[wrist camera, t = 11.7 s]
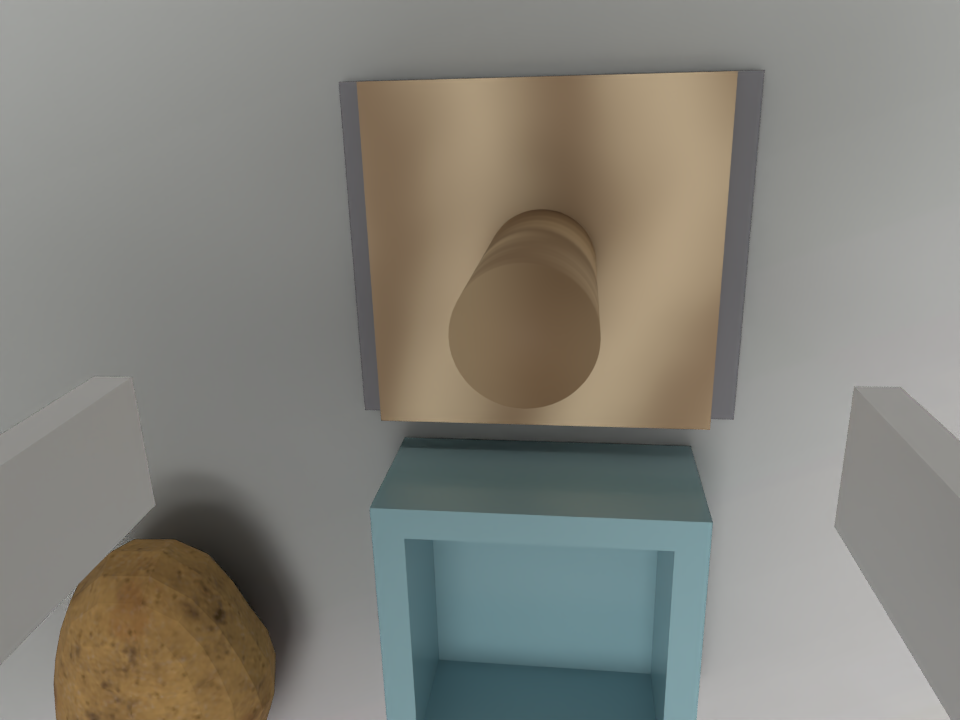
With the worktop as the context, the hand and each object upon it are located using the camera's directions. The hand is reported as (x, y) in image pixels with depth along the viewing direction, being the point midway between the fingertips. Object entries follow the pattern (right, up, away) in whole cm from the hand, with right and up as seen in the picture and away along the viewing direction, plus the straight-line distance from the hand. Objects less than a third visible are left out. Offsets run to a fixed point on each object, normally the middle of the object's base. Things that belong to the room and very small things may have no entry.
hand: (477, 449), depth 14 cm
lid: (+2, +6, +16) cm, 17 cm away
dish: (+3, -7, +21) cm, 22 cm away
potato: (-13, -11, +24) cm, 30 cm away
